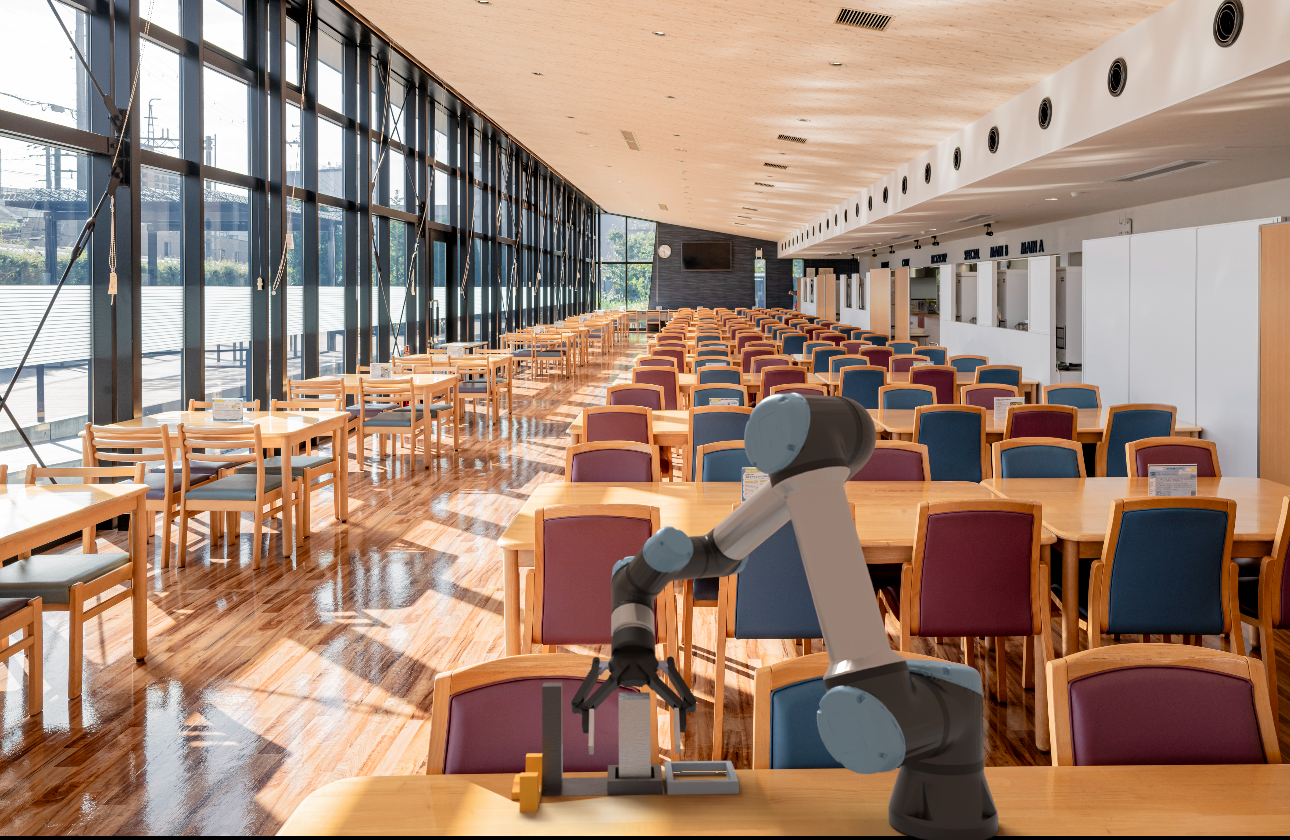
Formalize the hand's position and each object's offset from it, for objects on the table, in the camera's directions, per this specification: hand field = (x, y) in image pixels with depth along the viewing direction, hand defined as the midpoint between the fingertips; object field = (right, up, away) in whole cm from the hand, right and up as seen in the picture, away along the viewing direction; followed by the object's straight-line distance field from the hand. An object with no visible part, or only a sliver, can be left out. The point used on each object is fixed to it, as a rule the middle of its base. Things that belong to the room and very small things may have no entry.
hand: (634, 750), depth 158 cm
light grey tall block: (0, -6, +2) cm, 7 cm away
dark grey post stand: (-5, -7, +2) cm, 9 cm away
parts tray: (+11, -7, +3) cm, 13 cm away
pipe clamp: (-17, -8, -4) cm, 19 cm away
